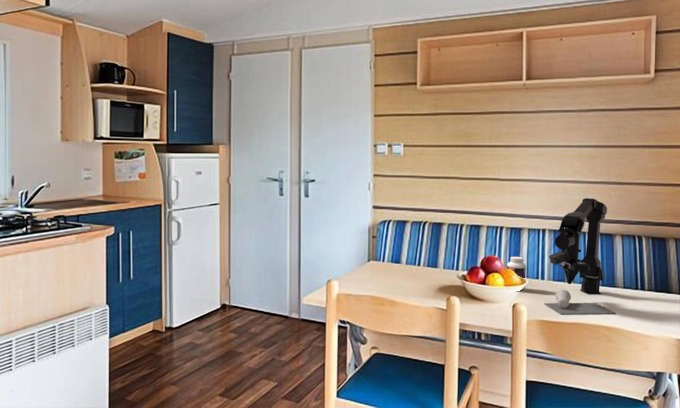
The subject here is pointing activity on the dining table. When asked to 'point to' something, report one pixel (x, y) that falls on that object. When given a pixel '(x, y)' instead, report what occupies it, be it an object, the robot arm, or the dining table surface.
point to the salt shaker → (563, 298)
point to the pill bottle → (517, 266)
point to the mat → (580, 308)
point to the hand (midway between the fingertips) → (569, 283)
